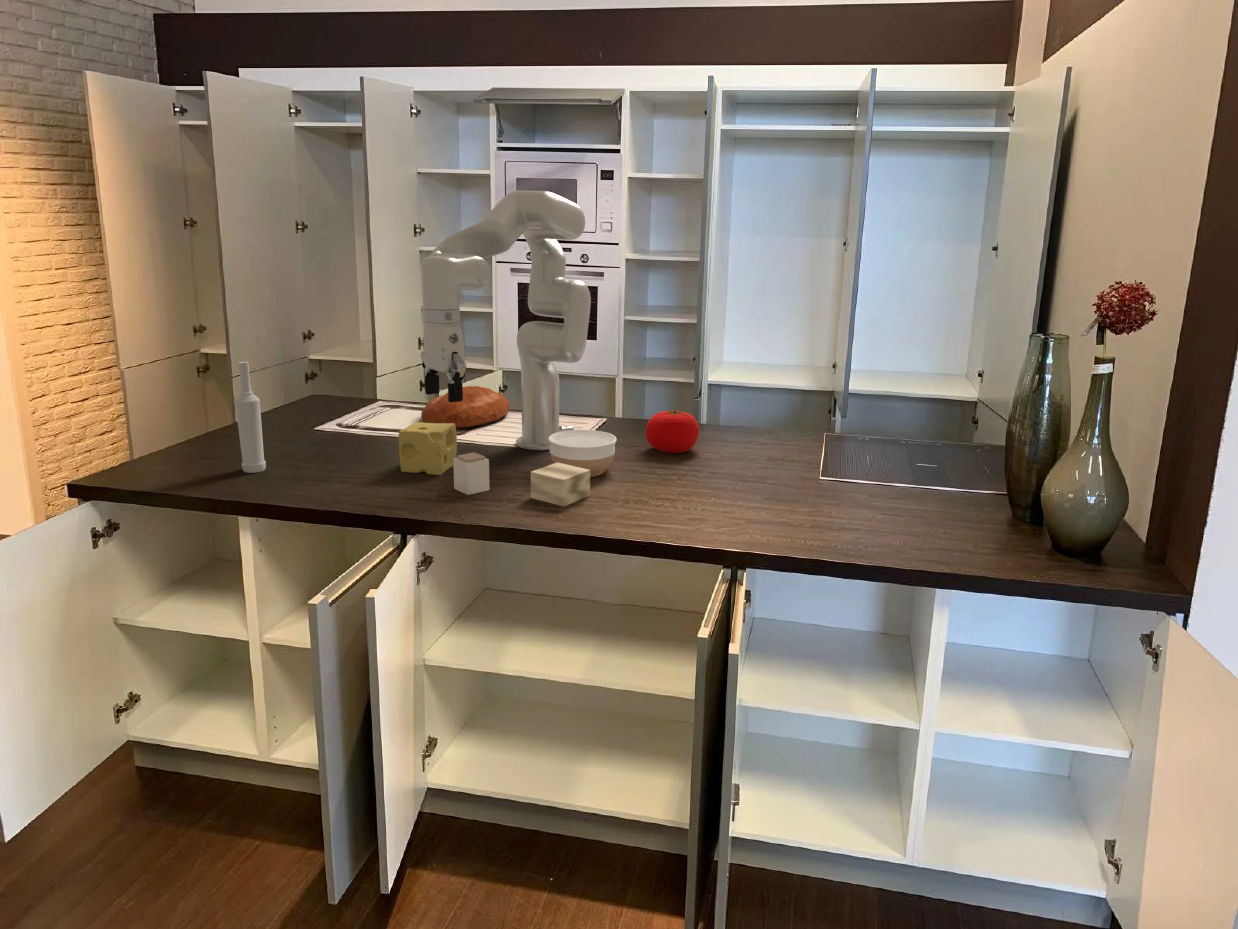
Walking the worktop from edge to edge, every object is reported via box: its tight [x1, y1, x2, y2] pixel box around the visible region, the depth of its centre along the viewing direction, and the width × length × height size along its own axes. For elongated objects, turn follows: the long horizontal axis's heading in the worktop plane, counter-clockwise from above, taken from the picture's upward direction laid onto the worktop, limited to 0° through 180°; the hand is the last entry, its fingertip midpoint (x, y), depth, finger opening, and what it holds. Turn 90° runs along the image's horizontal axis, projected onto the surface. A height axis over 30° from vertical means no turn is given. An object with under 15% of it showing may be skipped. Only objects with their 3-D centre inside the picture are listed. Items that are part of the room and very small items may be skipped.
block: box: [530, 462, 591, 507], centre depth 193 cm, size 9×9×6 cm
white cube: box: [453, 451, 490, 496], centre depth 196 cm, size 6×6×8 cm
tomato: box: [644, 409, 700, 454], centre depth 229 cm, size 14×13×10 cm
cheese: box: [398, 421, 458, 476], centre depth 211 cm, size 10×11×10 cm
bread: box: [420, 385, 511, 429], centre depth 258 cm, size 23×32×9 cm
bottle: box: [234, 361, 267, 474], centre depth 204 cm, size 5×5×25 cm
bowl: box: [548, 429, 617, 478], centre depth 211 cm, size 16×16×8 cm
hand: (443, 397), depth 193 cm, fingers open, 9 cm apart
